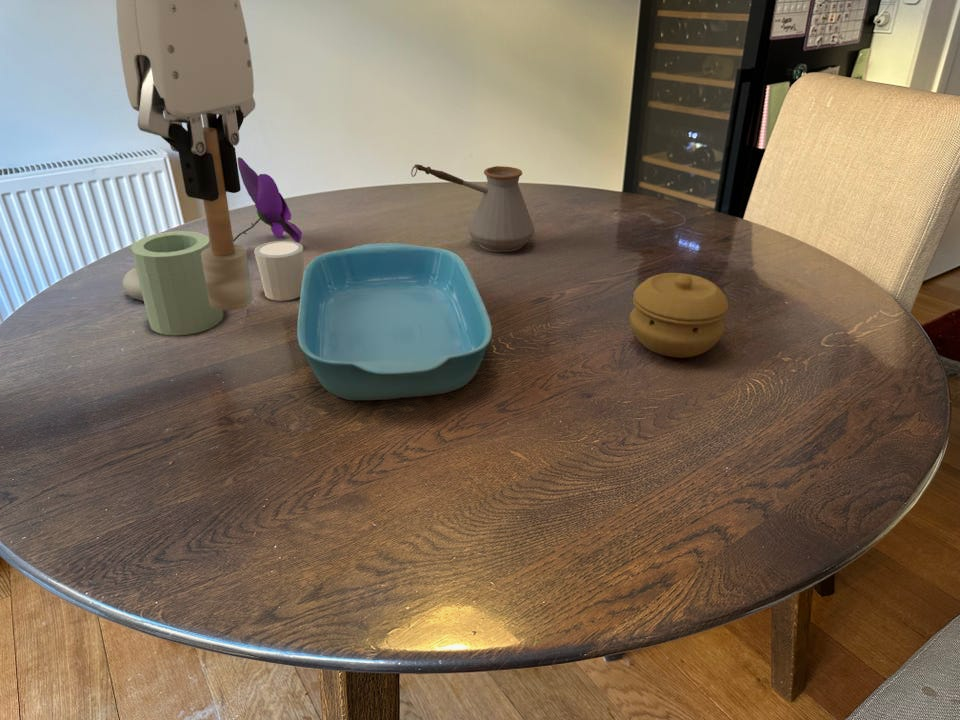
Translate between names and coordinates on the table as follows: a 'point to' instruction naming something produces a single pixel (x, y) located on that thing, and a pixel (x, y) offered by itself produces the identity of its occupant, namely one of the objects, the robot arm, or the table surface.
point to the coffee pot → (496, 209)
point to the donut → (132, 285)
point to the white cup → (280, 269)
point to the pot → (678, 314)
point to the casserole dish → (391, 321)
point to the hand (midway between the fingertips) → (213, 192)
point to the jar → (174, 282)
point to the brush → (223, 245)
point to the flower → (268, 202)
